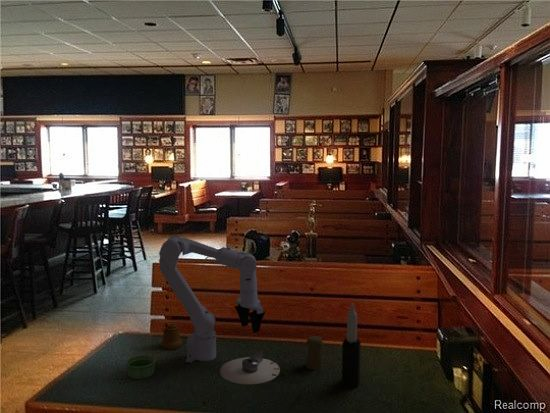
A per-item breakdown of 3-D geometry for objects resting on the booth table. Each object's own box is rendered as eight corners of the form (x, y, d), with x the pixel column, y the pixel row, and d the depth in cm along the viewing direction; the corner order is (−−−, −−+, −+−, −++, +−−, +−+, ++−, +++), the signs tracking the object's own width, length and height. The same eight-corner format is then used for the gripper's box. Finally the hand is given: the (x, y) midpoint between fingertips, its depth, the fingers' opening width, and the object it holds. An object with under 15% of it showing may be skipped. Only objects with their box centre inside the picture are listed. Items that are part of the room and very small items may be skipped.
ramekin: (161, 373, 147) (161, 360, 146) (135, 383, 140) (135, 369, 140) (146, 365, 153) (145, 352, 152) (121, 374, 146) (120, 360, 146)
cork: (322, 375, 146) (323, 341, 145) (303, 373, 147) (304, 340, 146) (324, 367, 151) (325, 334, 150) (306, 365, 153) (306, 333, 152)
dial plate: (208, 380, 142) (208, 375, 141) (238, 357, 159) (238, 352, 159) (263, 394, 134) (263, 388, 133) (289, 368, 151) (289, 363, 151)
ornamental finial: (174, 340, 174) (186, 346, 168) (157, 346, 168) (168, 352, 163) (174, 320, 173) (185, 325, 168) (156, 325, 167) (168, 330, 162)
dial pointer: (253, 373, 143) (253, 364, 142) (239, 370, 145) (239, 361, 144) (267, 361, 152) (267, 352, 151) (254, 358, 154) (254, 349, 153)
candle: (360, 380, 143) (362, 301, 140) (357, 387, 138) (359, 306, 135) (344, 377, 144) (345, 299, 142) (341, 384, 139) (342, 304, 137)
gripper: (270, 292, 151) (271, 332, 152) (248, 283, 163) (249, 320, 164) (251, 296, 147) (253, 337, 148) (230, 287, 159) (232, 325, 160)
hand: (250, 328), depth 156 cm, fingers open, 7 cm apart
